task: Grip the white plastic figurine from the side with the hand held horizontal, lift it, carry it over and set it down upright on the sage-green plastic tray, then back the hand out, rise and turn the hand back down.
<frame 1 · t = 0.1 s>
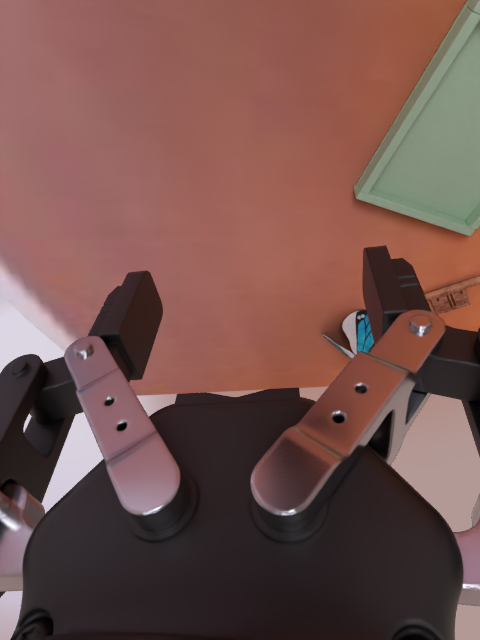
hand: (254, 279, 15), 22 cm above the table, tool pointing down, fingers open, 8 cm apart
decorative butterfly: (361, 333, 53), on the table
tray: (468, 132, 33), on the table
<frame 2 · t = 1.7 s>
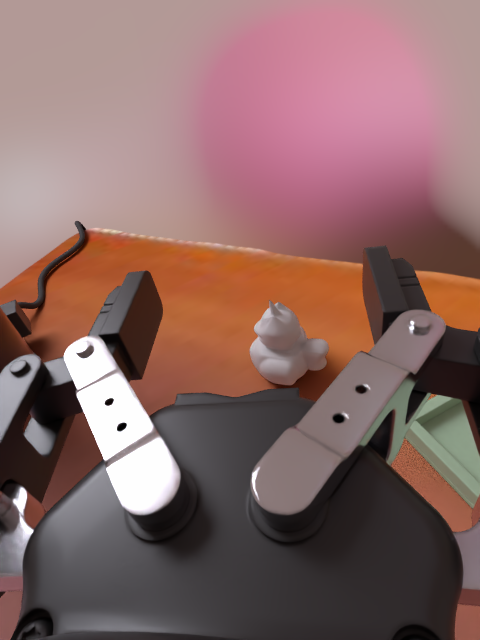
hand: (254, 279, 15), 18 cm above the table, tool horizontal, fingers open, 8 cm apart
white plastic figurine: (291, 373, 36), on the table
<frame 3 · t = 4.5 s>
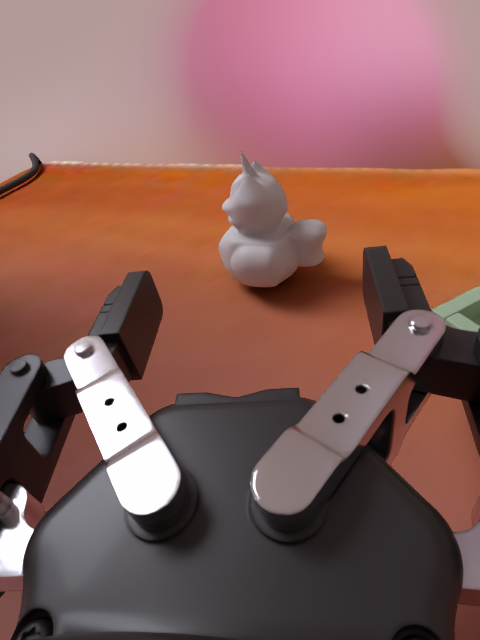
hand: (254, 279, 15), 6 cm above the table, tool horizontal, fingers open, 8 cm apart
white plastic figurine: (276, 279, 26), on the table
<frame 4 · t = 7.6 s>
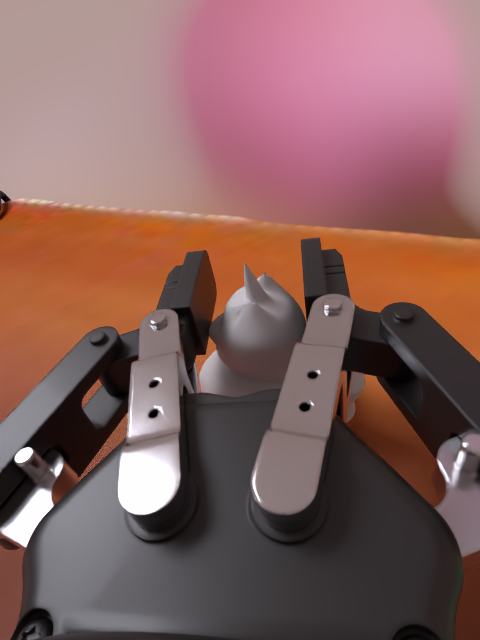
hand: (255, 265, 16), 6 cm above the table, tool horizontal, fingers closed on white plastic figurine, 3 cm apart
white plastic figurine: (279, 423, 18), on the table, touching gripper
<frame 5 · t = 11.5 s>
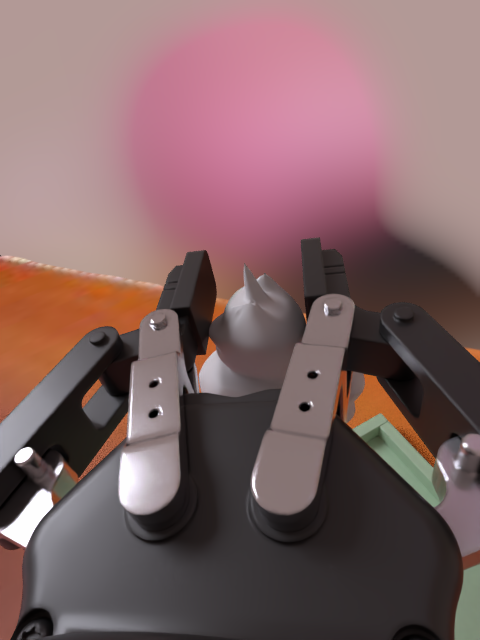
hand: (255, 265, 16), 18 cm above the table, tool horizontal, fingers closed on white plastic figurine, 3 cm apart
white plastic figurine: (279, 423, 18), point 11 cm above the table, touching gripper
tray: (383, 572, 23), on the table
when the fingers open (7 cm above the table, at t = 15.5 s): white plastic figurine stays where it is, resting on tray.
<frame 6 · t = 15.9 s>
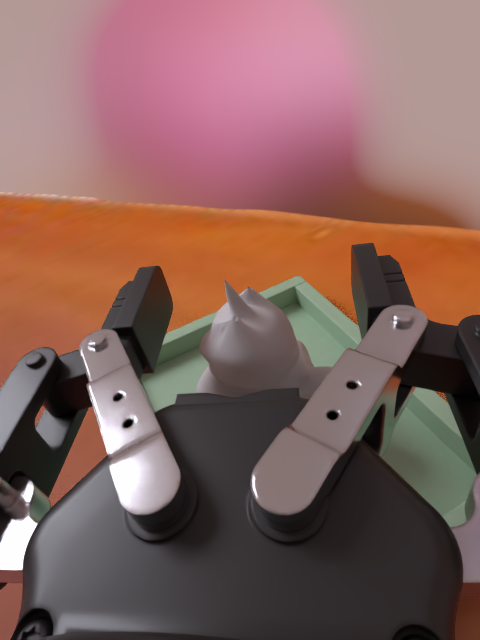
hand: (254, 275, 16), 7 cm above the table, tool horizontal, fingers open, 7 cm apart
white plastic figurine: (280, 430, 18), resting on tray
tray: (276, 429, 19), on the table
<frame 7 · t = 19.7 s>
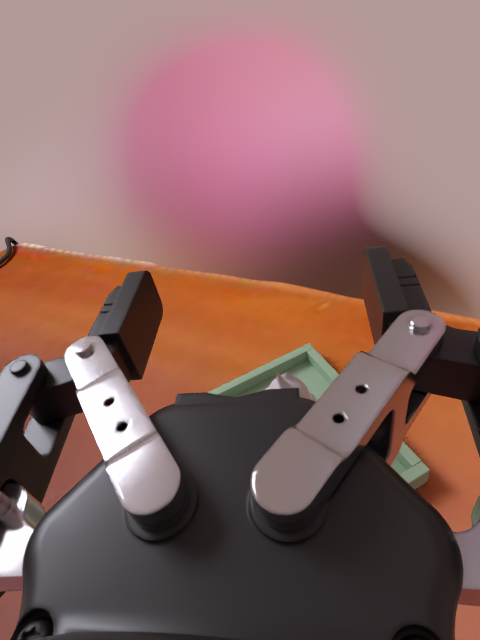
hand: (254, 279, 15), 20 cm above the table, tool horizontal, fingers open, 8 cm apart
white plastic figurine: (300, 442, 33), resting on tray
tray: (297, 441, 33), on the table
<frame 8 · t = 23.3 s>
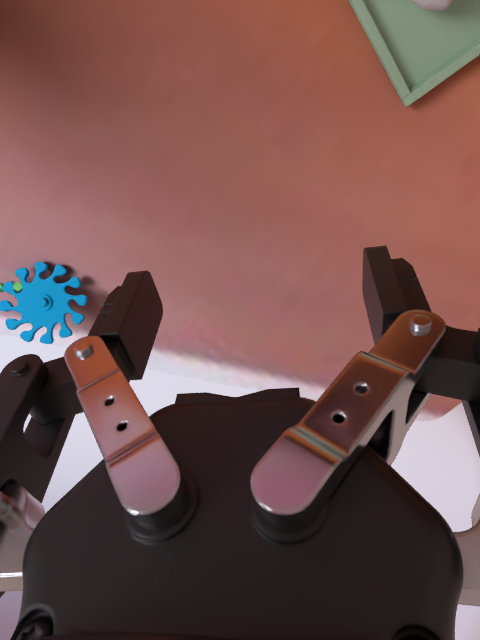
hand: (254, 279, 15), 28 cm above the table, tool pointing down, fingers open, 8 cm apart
gear: (53, 282, 53), on the table
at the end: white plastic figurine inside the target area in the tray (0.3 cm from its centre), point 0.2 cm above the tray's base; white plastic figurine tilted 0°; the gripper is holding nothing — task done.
